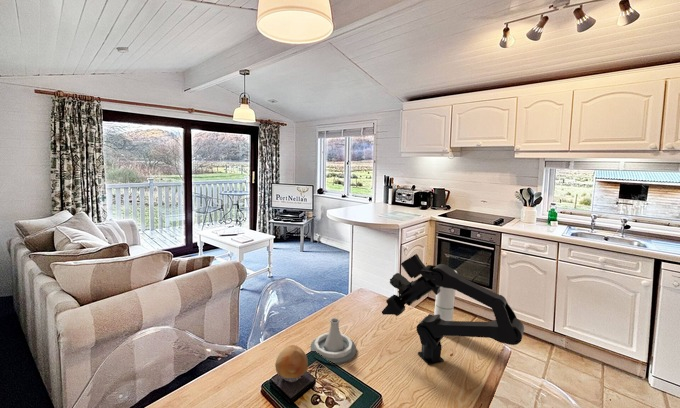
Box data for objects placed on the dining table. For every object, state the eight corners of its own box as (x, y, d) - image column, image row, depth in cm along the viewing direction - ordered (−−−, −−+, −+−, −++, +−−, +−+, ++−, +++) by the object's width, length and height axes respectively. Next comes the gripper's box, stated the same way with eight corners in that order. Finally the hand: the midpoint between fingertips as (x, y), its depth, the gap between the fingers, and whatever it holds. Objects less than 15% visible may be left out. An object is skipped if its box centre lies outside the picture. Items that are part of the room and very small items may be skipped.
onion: (269, 375, 95) (269, 345, 94) (297, 363, 101) (298, 335, 100) (284, 395, 87) (285, 362, 86) (313, 380, 94) (314, 350, 92)
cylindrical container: (448, 326, 129) (454, 268, 126) (453, 335, 122) (459, 275, 119) (431, 324, 130) (436, 267, 126) (434, 334, 123) (440, 273, 119)
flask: (319, 348, 108) (320, 321, 107) (330, 338, 114) (331, 313, 113) (337, 355, 104) (338, 328, 103) (347, 345, 111) (349, 319, 109)
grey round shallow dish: (363, 359, 105) (363, 352, 105) (317, 368, 99) (318, 360, 99) (345, 334, 120) (346, 327, 119) (305, 340, 114) (305, 333, 114)
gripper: (414, 262, 118) (386, 282, 125) (393, 276, 103) (363, 298, 110) (433, 287, 114) (403, 306, 122) (414, 305, 99) (381, 326, 107)
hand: (388, 308), depth 115 cm, fingers open, 9 cm apart
